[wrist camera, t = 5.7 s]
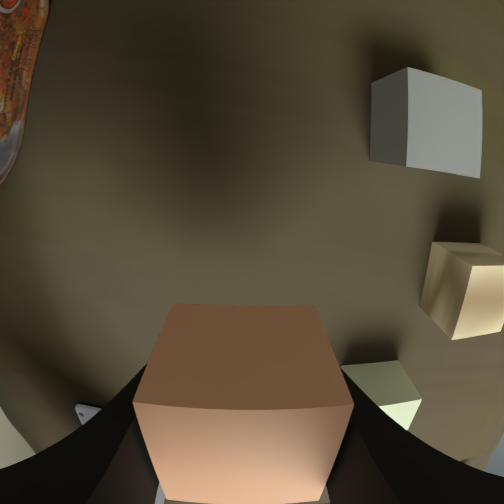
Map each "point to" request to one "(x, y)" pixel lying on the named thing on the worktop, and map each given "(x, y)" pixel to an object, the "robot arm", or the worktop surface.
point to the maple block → (464, 289)
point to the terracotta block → (243, 404)
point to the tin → (17, 70)
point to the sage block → (387, 388)
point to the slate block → (426, 123)
